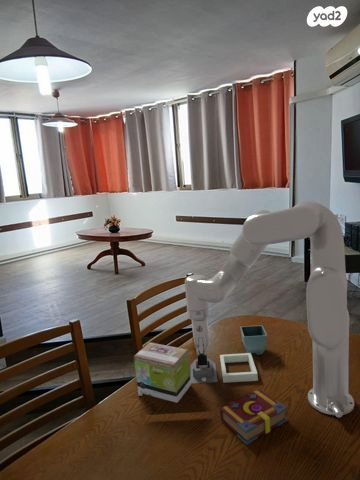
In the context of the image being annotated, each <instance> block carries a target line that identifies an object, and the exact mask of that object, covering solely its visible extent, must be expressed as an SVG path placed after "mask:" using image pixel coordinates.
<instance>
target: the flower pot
mask: <svg viewBox="0 0 360 480" xmlns="http://www.w3.org/2000/svg"><path fill="white" fill-rule="evenodd" d="M239 329H240V334H241V340H242V343H243V346H244V350H245V351H246V352H245V353H251V354H255V355H256V356H261V355H263V353H264V352H265V351H266V348H267V341H268V334H267V332H266V330H265V327H264V326H263V325H245V326H240V327H239Z"/></svg>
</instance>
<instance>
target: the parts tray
mask: <svg viewBox="0 0 360 480" xmlns="http://www.w3.org/2000/svg"><path fill="white" fill-rule="evenodd" d="M219 359H220V369H221V374H222V382H223V383H224V384H225V383H226V384H227V383H239V382H256V381H257V382H258V381H259V378H258V376H259V375H258V370H257V367H256V365H255V362H254V359H253V355H252V353H247V352H245V353H228V354H219ZM241 362H242V363H243V362H248V364H249V368H250V371H244V372H227V368H226V363H241Z"/></svg>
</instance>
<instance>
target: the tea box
mask: <svg viewBox="0 0 360 480" xmlns="http://www.w3.org/2000/svg"><path fill="white" fill-rule="evenodd" d="M189 359H190V358H189V350H188V349H187V348H183V347H182V348H181V347H177V346H171V345H167V344H166V345H165V344H161V343H156V342H151V341H150V342H148V343H147V344H146V345H145V346H143V348H142V349H140V350H139V351H138V352H137V353H136V354H135V355H133V361H134V362H133V363H134V368H135V378H136V387H137V392H138V393H137V394H138V396H141V397H142V396H143V394H144V395H147V396H151V397H154V398H158V399H161V400H165V401H170V402H173V403H178V402H179V401H180V400H182V397H183V396H184V395H185V394H186V392H187V391H188V390H189V388H190V387H192V385H191V384H192V383H191V382H190V380H191V369H190V360H189Z"/></svg>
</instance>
